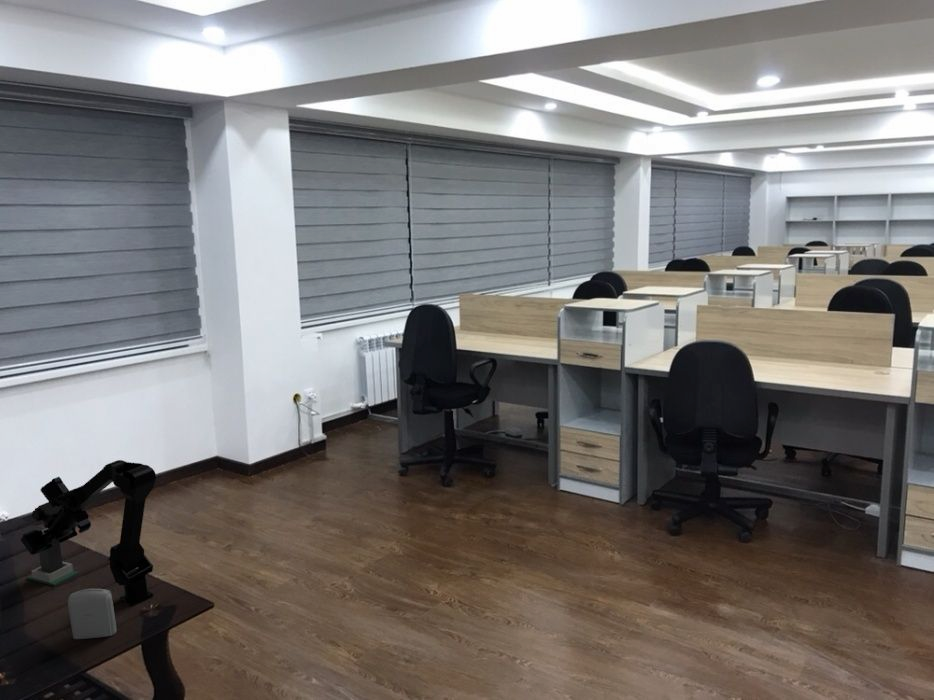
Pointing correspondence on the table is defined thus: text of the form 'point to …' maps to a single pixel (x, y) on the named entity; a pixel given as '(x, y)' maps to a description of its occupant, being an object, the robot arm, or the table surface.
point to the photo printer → (92, 613)
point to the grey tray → (54, 575)
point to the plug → (51, 557)
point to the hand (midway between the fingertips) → (46, 547)
